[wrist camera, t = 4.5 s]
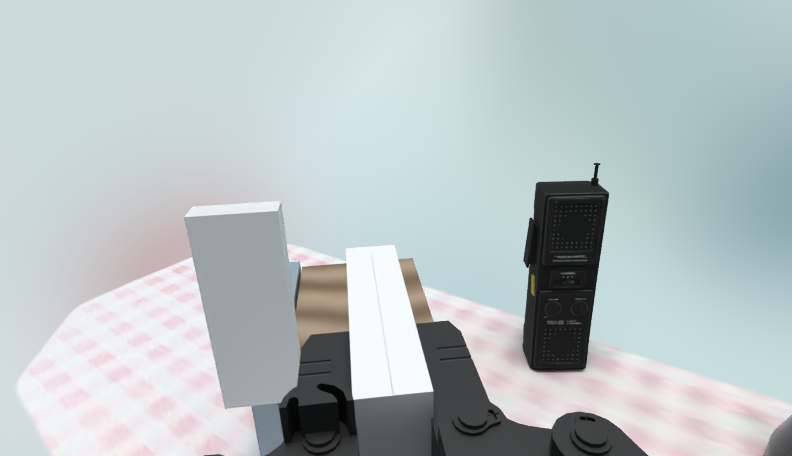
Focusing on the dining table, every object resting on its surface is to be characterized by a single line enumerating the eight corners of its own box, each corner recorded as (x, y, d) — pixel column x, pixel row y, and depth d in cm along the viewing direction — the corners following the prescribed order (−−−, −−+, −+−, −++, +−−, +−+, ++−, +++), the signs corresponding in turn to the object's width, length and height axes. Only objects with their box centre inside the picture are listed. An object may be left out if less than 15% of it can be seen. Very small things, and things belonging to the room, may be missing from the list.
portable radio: (523, 373, 59) (540, 175, 49) (512, 343, 64) (526, 160, 55) (588, 372, 59) (618, 174, 49) (572, 342, 64) (596, 158, 55)
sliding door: (279, 343, 65) (248, 137, 54) (324, 339, 66) (302, 134, 55) (248, 515, 42) (184, 217, 31) (317, 506, 43) (277, 210, 32)
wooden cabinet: (311, 345, 65) (302, 266, 61) (414, 336, 67) (412, 258, 62) (298, 507, 43) (282, 403, 39) (452, 488, 45) (454, 385, 40)
